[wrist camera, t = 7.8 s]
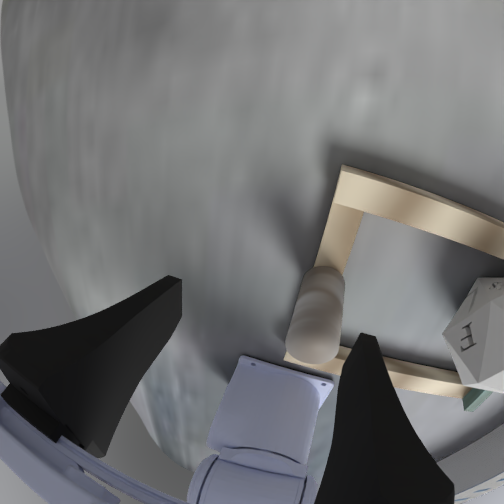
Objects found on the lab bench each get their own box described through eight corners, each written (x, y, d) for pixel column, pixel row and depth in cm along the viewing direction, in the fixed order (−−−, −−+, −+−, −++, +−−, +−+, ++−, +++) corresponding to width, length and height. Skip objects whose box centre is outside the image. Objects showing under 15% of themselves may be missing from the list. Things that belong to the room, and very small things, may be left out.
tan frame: (281, 346, 27) (261, 409, 21) (333, 162, 18) (326, 200, 12) (468, 388, 23) (477, 444, 18) (563, 252, 14) (603, 304, 9)
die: (518, 230, 16) (488, 302, 12) (572, 312, 13) (553, 408, 9) (457, 286, 23) (404, 356, 19) (507, 353, 20) (465, 434, 15)
